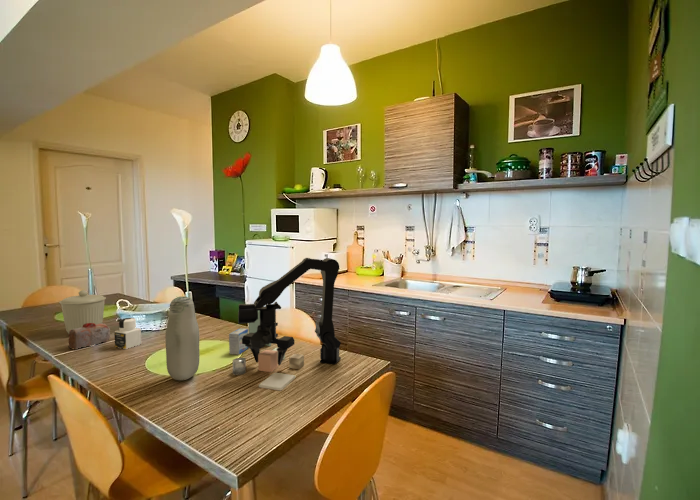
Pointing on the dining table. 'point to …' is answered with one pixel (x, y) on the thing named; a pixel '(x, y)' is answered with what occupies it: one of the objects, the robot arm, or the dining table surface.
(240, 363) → the grey metal cylinder
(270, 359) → the coral block
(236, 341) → the medicine box
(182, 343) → the grey squeeze bottle
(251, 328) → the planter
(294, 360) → the birch block
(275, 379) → the grey mat
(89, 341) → the food item
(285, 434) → the dining table surface
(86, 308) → the canister
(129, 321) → the medicine bottle
